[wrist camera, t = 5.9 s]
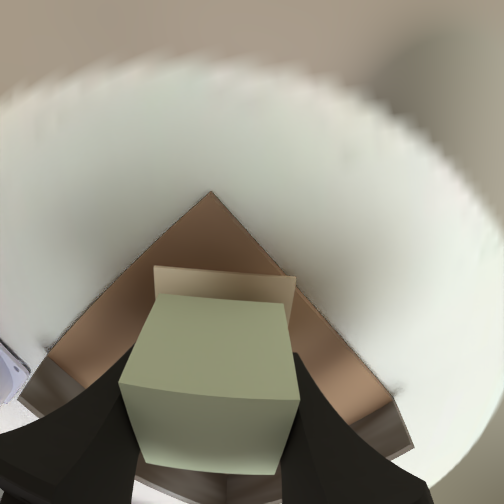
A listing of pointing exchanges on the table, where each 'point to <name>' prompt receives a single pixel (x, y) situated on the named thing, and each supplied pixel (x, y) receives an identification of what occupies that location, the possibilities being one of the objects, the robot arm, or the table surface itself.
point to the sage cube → (212, 385)
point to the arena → (218, 287)
